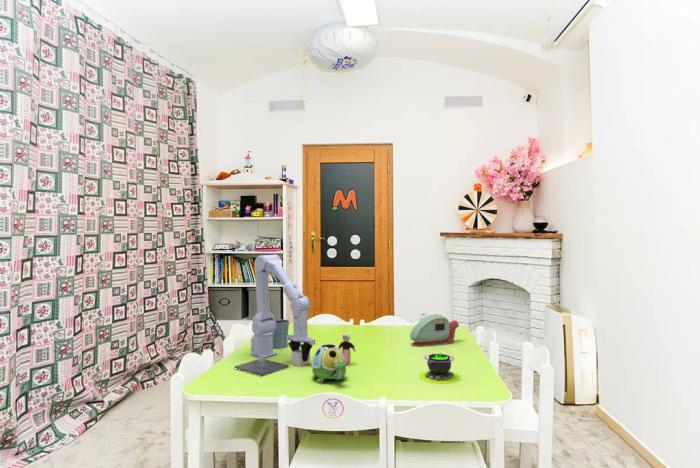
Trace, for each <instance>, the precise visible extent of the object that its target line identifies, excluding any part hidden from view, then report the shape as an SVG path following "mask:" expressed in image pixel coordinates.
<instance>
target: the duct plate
mask: <svg viewBox="0 0 700 468" xmlns="http://www.w3.org/2000/svg"><path fill="white" fill-rule="evenodd" d="M289 367H290V366H289V364H288V363H282V362H278V361H274V360H271V359H270V360H269V359H266V357H265V358H262V357H258V356H257V359H255V360H250V361H248V362H245V363H240V364H237V365H235V366H233V369H234V368H237V369H240V370H243V371H242V372H244V371H247V372H246V373H248V372H250V373H249V374H251V373H253V374H252V375H255V374H256V375H255V376H258V375H260V376H259V377H263V376H264V377H265V376H267V375H270V374H272V373H276V372H279V371H282V370H285V369H287V368H289ZM237 369H236V370H237ZM240 370H239V371H240Z"/></svg>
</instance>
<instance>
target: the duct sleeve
mask: <svg viewBox="0 0 700 468" xmlns="http://www.w3.org/2000/svg"><path fill="white" fill-rule="evenodd" d="M290 353H291V355H290V356H291V357H290V360H291V361H290V362H291V363H290V364H291V365H293V366H297V367H301V366H304V365H307V364H309V363H311V351H310V352H309V356H308V360H307V361H303V359H302V350H301V348H300V349H299V350H296V351H293V352H292V351H291V352H290Z"/></svg>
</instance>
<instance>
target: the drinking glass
mask: <svg viewBox="0 0 700 468" xmlns="http://www.w3.org/2000/svg"><path fill="white" fill-rule="evenodd" d="M275 321H276V330H275V331H274V334H273V349H275V350H278V349H279V350H280V349H285V348H287V347H288V343H289V342H288V341H289V340H286V336H287V335H289V327H290V320H289V319H282V318H281V319H280V318H279V319H276V318H275Z"/></svg>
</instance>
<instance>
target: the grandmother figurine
mask: <svg viewBox="0 0 700 468" xmlns="http://www.w3.org/2000/svg"><path fill="white" fill-rule="evenodd" d="M341 337H342V341H341V342H340V343H339V345H338V346H337V347H338V348H339V349H340V350H341V351H342V353H343V355H344V358H345V361H346V366H351V357H352V355H351V354H352V352H351V349H352V351H353V353H354V352H356V351H357V350H356V347H355V345H354V344H353V343H351V342H350V340H351V335H350V334H349V333H348V332H344V333H342V336H341ZM341 348H342V349H341Z"/></svg>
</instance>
